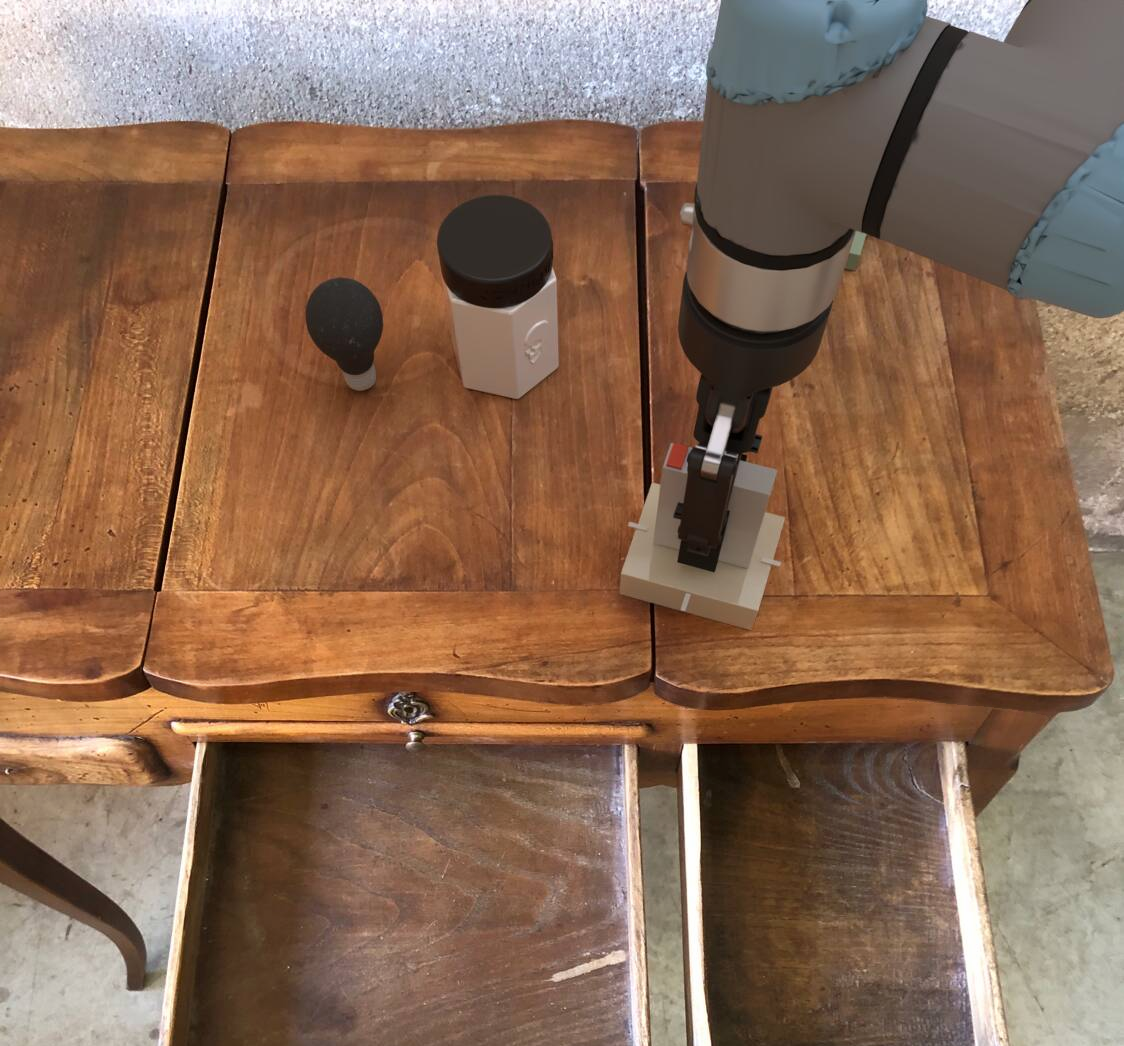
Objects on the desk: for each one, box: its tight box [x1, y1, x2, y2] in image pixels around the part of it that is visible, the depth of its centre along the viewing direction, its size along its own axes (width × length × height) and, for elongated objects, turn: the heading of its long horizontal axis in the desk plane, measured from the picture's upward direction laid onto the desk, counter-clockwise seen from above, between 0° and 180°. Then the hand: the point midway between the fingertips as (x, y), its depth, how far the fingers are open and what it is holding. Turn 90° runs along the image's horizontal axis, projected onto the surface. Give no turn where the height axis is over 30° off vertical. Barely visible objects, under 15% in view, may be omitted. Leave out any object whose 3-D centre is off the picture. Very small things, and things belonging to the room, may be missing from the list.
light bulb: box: [304, 276, 384, 391], centre depth 79 cm, size 6×6×10 cm
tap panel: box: [618, 482, 786, 631], centre depth 76 cm, size 11×11×3 cm
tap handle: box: [653, 442, 778, 569], centre depth 70 cm, size 7×2×9 cm, turn 72°
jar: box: [436, 194, 560, 400], centre depth 79 cm, size 9×8×12 cm
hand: (705, 536), depth 74 cm, fingers open, 4 cm apart
